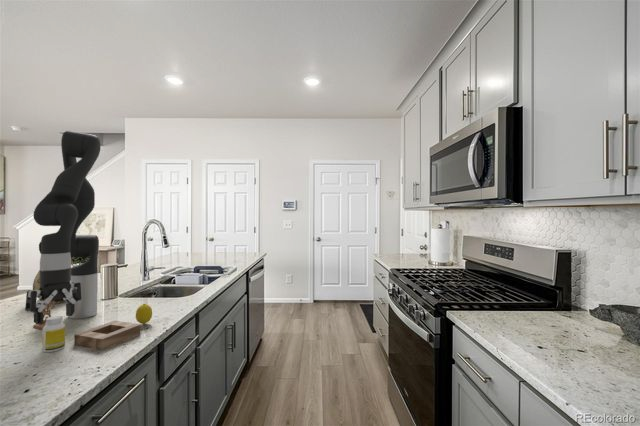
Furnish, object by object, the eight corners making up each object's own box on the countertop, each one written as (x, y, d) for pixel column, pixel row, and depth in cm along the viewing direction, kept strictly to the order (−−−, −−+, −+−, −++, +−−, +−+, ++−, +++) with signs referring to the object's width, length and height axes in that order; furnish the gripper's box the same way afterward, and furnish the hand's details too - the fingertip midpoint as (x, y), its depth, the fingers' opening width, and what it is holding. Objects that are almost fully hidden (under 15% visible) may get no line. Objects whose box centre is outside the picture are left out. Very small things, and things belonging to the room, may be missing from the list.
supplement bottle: (69, 347, 100) (69, 315, 100) (49, 354, 94) (50, 321, 94) (57, 344, 101) (58, 314, 101) (37, 351, 96) (38, 319, 96)
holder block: (74, 345, 101) (74, 334, 101) (114, 330, 114) (114, 320, 114) (101, 350, 97) (102, 339, 97) (140, 334, 110) (140, 324, 110)
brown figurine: (32, 327, 116) (33, 295, 116) (44, 324, 120) (45, 292, 120) (48, 330, 113) (49, 297, 113) (60, 327, 117) (61, 294, 117)
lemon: (144, 327, 117) (145, 306, 117) (132, 326, 118) (132, 305, 118) (155, 322, 122) (155, 302, 122) (143, 321, 123) (143, 301, 123)
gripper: (71, 263, 106) (70, 312, 106) (20, 270, 92) (19, 326, 92) (87, 264, 104) (86, 314, 103) (37, 271, 90) (36, 328, 90)
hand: (54, 319), depth 98 cm, fingers open, 8 cm apart
